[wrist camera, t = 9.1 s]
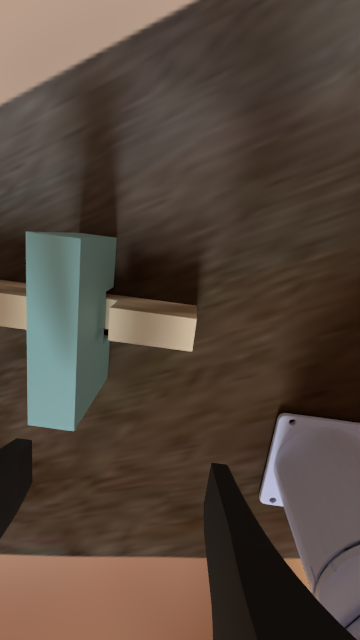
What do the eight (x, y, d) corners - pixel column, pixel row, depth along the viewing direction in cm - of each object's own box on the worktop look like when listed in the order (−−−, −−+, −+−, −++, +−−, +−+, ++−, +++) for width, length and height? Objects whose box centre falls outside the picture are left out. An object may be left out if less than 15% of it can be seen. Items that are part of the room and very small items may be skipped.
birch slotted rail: (196, 305, 21) (196, 318, 18) (192, 333, 21) (192, 351, 18) (-7, 278, 21) (-45, 287, 18) (-6, 307, 22) (-43, 320, 18)
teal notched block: (116, 237, 20) (80, 238, 14) (107, 377, 23) (74, 431, 16) (78, 232, 20) (25, 231, 14) (74, 372, 23) (27, 424, 16)
